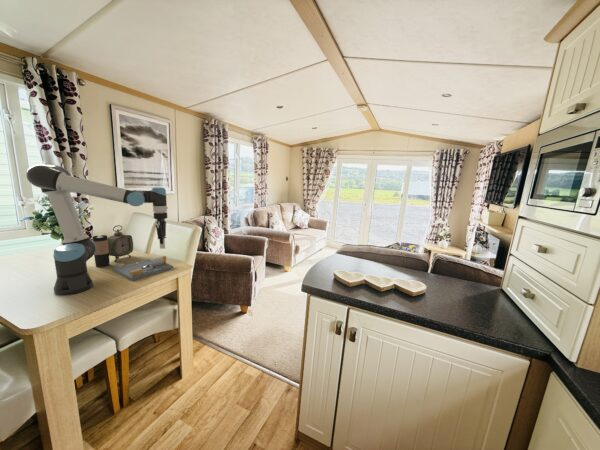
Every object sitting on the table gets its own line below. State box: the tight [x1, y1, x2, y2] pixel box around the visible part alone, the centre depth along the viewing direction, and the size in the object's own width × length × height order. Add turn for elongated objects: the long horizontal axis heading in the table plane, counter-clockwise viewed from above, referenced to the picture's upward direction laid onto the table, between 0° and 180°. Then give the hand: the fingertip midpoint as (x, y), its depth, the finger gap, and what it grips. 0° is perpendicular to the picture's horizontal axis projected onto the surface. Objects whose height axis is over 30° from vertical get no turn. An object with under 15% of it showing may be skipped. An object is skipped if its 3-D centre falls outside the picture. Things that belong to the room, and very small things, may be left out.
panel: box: [112, 257, 174, 282], centre depth 156 cm, size 25×24×2 cm
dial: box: [142, 255, 167, 269], centre depth 157 cm, size 15×6×5 cm, turn 149°
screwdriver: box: [129, 267, 153, 276], centre depth 146 cm, size 12×3×3 cm, turn 149°
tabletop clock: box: [107, 224, 134, 263], centre depth 169 cm, size 14×9×25 cm, turn 168°
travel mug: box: [92, 234, 111, 268], centre depth 157 cm, size 8×8×20 cm
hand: (162, 248), depth 154 cm, fingers closed
